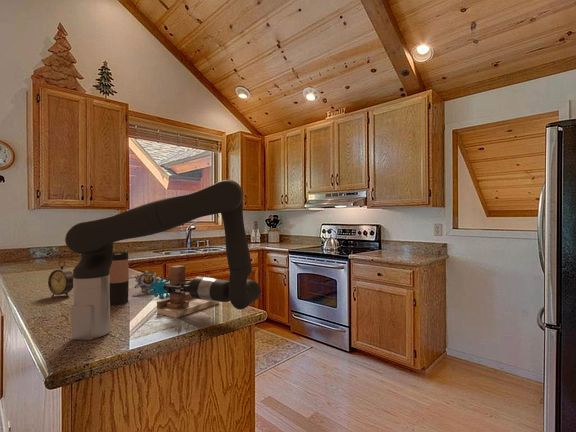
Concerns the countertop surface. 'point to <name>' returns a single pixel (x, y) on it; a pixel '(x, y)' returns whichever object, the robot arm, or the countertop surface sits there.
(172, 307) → the panel
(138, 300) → the countertop surface
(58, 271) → the alarm clock
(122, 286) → the travel mug
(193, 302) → the board
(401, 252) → the countertop surface
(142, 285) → the passion flower
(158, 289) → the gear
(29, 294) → the countertop surface
